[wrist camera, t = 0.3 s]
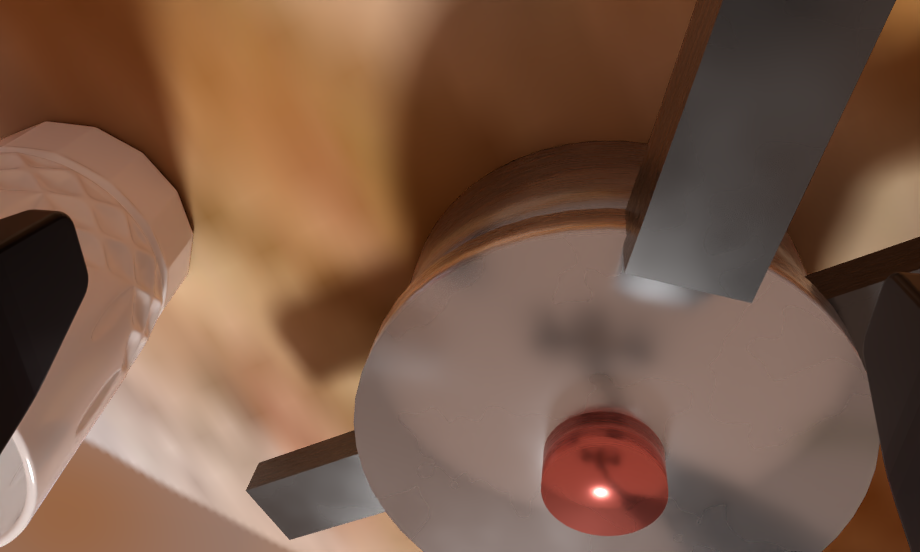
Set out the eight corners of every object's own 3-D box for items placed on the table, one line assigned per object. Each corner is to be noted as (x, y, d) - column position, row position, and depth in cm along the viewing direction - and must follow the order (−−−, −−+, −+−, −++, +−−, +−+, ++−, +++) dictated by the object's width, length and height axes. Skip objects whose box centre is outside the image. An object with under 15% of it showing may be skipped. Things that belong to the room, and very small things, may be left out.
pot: (1055, 345, 24) (1140, 456, 20) (392, 532, 32) (366, 635, 29) (958, -39, 19) (1047, 13, 15) (204, 299, 27) (142, 387, 24)
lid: (749, 623, 25) (762, 699, 23) (340, 525, 25) (319, 592, 23) (1247, -147, 13) (1363, -129, 11) (478, -321, 14) (457, -334, 12)
